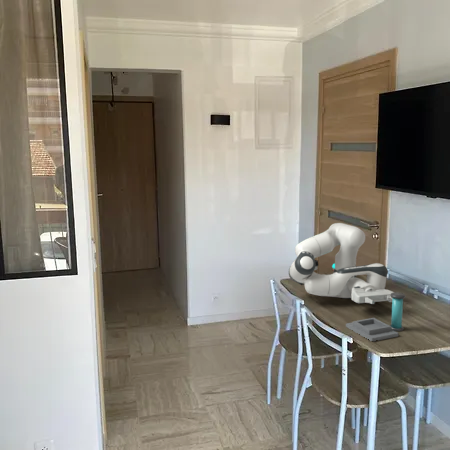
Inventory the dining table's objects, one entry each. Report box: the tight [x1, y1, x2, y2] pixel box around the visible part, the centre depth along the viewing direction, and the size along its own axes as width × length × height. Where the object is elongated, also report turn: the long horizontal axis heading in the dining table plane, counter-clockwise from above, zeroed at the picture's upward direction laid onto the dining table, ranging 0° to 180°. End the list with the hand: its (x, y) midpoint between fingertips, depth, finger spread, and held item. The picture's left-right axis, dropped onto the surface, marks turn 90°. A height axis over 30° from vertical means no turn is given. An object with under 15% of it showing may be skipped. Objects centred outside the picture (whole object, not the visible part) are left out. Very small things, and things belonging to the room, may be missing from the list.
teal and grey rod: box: [388, 291, 406, 333], centre depth 208 cm, size 6×6×16 cm
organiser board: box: [345, 317, 399, 342], centre depth 207 cm, size 18×14×4 cm
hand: (382, 301), depth 220 cm, fingers open, 8 cm apart
